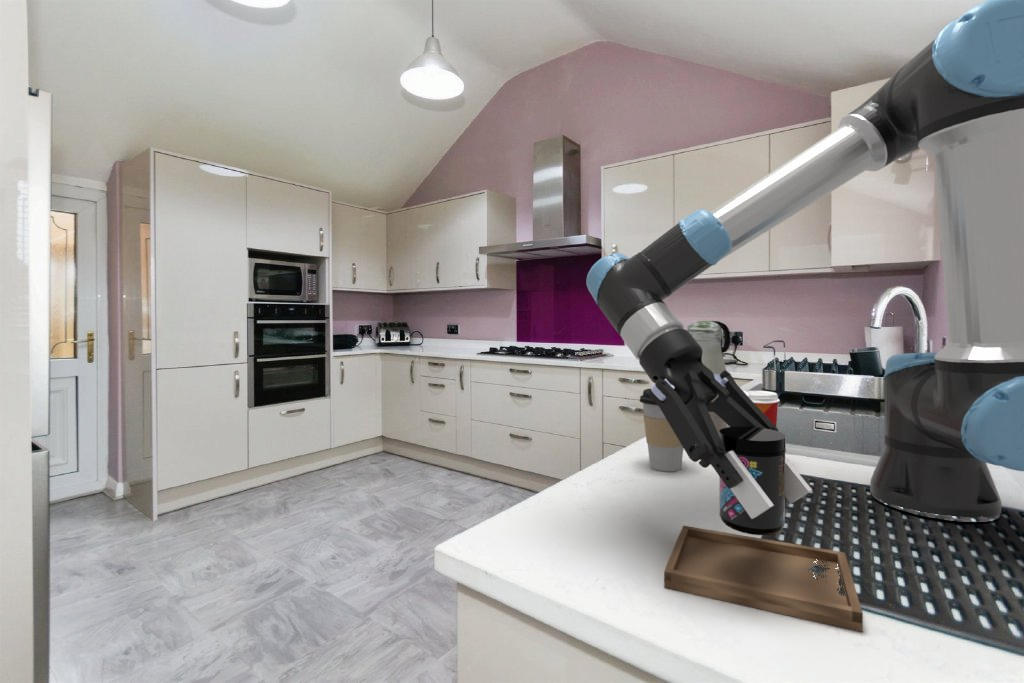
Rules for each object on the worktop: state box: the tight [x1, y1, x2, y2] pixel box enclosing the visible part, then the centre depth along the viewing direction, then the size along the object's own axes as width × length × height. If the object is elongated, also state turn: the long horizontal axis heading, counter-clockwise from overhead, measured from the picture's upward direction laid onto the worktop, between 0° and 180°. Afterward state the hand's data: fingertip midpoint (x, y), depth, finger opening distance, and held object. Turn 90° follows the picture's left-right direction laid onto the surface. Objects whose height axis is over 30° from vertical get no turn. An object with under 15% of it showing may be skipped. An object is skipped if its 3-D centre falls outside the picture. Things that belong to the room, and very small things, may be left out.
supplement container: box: [718, 426, 787, 536], centre depth 56 cm, size 7×7×10 cm
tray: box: [663, 525, 864, 633], centre depth 56 cm, size 18×13×2 cm
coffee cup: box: [639, 388, 684, 473], centre depth 96 cm, size 9×9×15 cm
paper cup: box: [742, 390, 780, 427], centre depth 97 cm, size 8×8×14 cm
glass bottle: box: [687, 320, 728, 447], centre depth 110 cm, size 10×10×28 cm
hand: (782, 503), depth 53 cm, fingers closed on supplement container, 7 cm apart
